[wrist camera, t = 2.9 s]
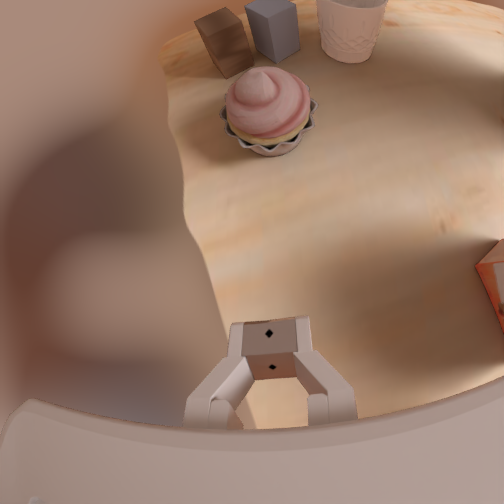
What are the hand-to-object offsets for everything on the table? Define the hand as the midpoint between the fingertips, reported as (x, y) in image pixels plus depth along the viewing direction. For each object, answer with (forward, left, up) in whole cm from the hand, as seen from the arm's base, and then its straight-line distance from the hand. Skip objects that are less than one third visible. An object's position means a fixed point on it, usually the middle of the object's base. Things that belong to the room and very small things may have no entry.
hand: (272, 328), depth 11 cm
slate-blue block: (-14, -27, -17) cm, 35 cm away
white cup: (-22, -23, -17) cm, 36 cm away
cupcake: (-7, -16, -17) cm, 25 cm away
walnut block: (-8, -28, -17) cm, 34 cm away
